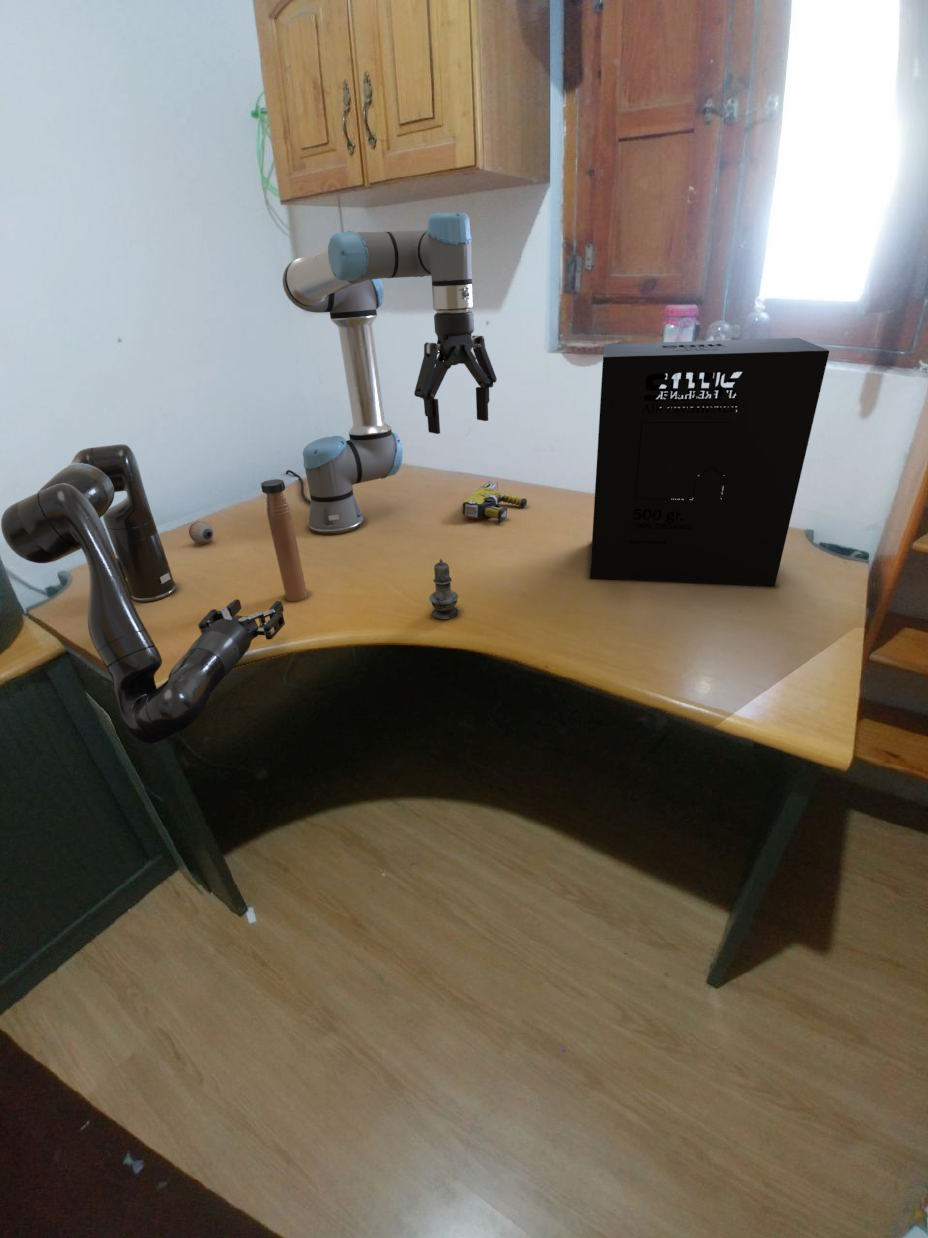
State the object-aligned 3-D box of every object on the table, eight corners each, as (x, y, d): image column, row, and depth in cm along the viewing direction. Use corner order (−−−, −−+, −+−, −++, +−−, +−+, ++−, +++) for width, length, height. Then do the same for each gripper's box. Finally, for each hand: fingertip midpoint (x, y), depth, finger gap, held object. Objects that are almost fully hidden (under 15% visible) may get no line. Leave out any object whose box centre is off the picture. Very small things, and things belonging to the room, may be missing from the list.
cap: (286, 491, 119) (285, 483, 119) (263, 495, 118) (261, 487, 117) (283, 485, 123) (282, 477, 122) (261, 489, 122) (259, 481, 121)
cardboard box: (755, 547, 142) (798, 337, 120) (774, 586, 125) (829, 350, 102) (592, 542, 150) (603, 344, 127) (589, 578, 133) (603, 356, 110)
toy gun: (534, 486, 180) (487, 479, 184) (513, 510, 160) (461, 501, 164) (533, 501, 182) (486, 494, 186) (512, 527, 162) (460, 518, 166)
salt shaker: (456, 620, 119) (452, 565, 113) (427, 618, 121) (422, 564, 115) (462, 606, 124) (458, 552, 118) (434, 604, 126) (429, 551, 120)
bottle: (309, 598, 131) (286, 485, 119) (287, 603, 130) (262, 489, 117) (305, 589, 135) (282, 479, 123) (284, 594, 134) (259, 483, 121)
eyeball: (202, 548, 159) (196, 527, 156) (187, 544, 162) (181, 523, 159) (221, 540, 163) (215, 519, 160) (206, 537, 166) (200, 516, 163)
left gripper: (252, 633, 100) (290, 587, 113) (173, 630, 102) (220, 585, 115) (262, 670, 103) (297, 621, 117) (185, 666, 106) (229, 619, 119)
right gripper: (414, 317, 104) (424, 441, 115) (513, 306, 118) (513, 417, 129) (388, 316, 109) (400, 435, 120) (486, 305, 123) (488, 412, 134)
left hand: (259, 604), depth 116 cm, fingers open, 8 cm apart
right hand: (459, 426), depth 125 cm, fingers open, 13 cm apart
